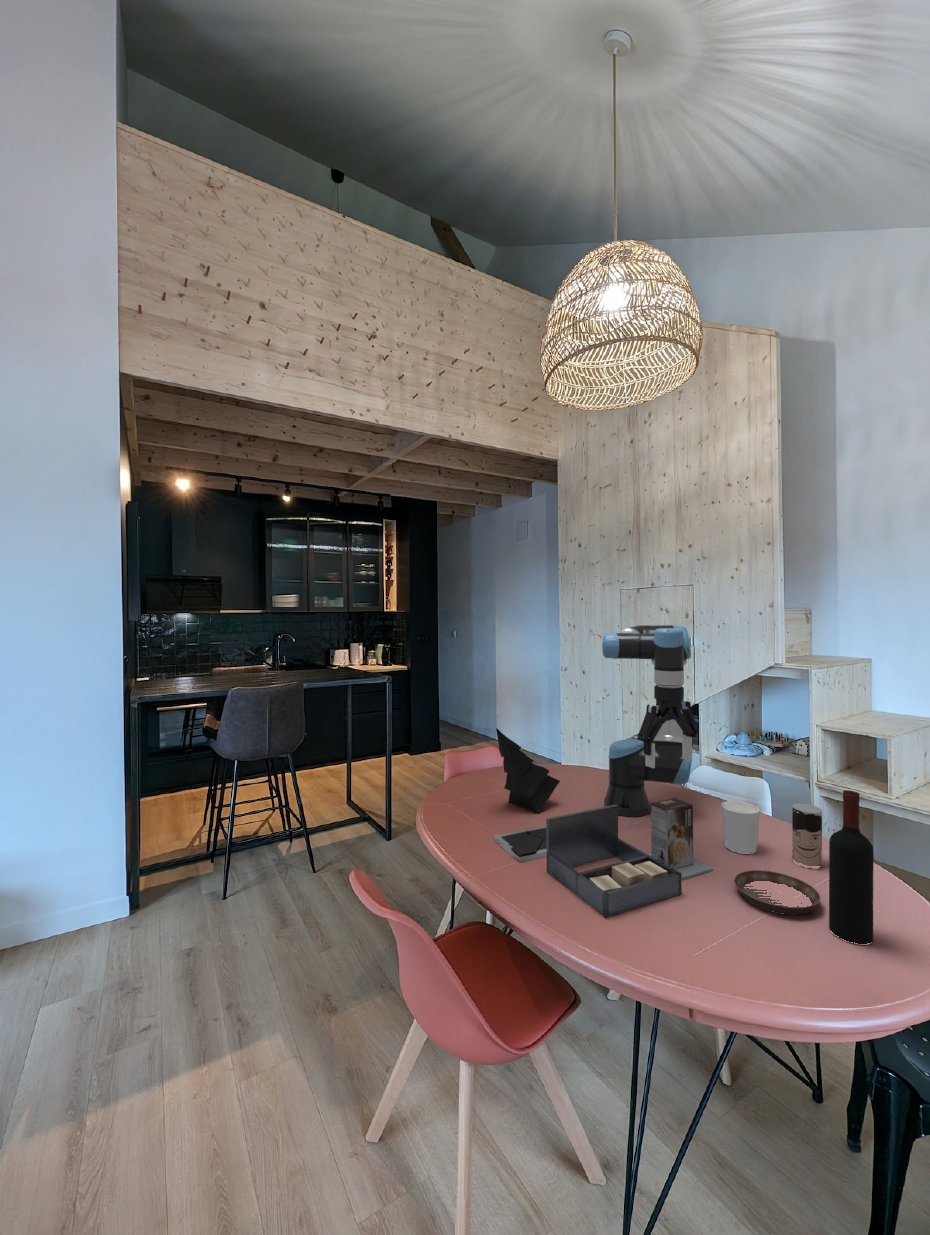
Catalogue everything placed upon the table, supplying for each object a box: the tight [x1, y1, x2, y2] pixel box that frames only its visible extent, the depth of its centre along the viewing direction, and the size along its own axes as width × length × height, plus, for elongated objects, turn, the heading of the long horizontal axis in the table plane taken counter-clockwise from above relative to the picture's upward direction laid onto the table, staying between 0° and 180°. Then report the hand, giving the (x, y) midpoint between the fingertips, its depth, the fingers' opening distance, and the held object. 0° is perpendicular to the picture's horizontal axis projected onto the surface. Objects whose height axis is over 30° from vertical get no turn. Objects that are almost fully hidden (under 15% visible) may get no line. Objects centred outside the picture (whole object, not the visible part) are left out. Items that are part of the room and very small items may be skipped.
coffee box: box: [650, 797, 694, 869], centre depth 144 cm, size 9×6×16 cm
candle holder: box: [721, 800, 761, 854], centre depth 154 cm, size 10×10×12 cm
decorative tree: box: [495, 727, 561, 815], centre depth 185 cm, size 15×15×35 cm
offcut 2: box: [634, 861, 667, 881], centre depth 132 cm, size 5×6×5 cm
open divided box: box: [545, 805, 683, 919], centre depth 135 cm, size 23×24×14 cm
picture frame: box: [493, 824, 547, 863], centre depth 157 cm, size 16×3×21 cm
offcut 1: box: [589, 875, 622, 892], centre depth 126 cm, size 5×6×4 cm
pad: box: [646, 852, 714, 881], centre depth 144 cm, size 14×14×1 cm
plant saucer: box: [733, 869, 821, 915], centre depth 127 cm, size 18×18×3 cm
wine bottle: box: [828, 789, 874, 944], centre depth 113 cm, size 8×8×30 cm
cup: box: [791, 803, 823, 866], centre depth 144 cm, size 7×7×15 cm
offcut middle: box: [612, 863, 645, 888], centre depth 129 cm, size 5×6×6 cm
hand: (669, 763), depth 146 cm, fingers open, 13 cm apart
